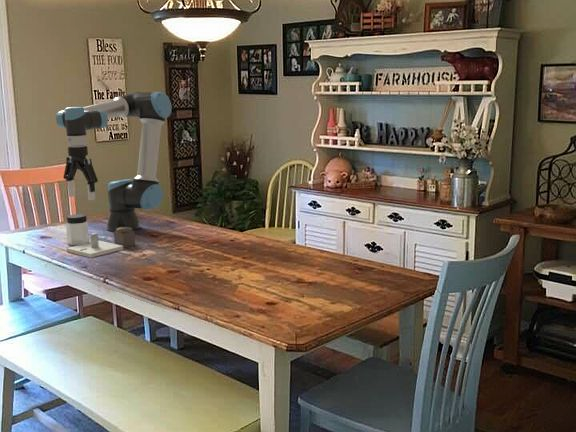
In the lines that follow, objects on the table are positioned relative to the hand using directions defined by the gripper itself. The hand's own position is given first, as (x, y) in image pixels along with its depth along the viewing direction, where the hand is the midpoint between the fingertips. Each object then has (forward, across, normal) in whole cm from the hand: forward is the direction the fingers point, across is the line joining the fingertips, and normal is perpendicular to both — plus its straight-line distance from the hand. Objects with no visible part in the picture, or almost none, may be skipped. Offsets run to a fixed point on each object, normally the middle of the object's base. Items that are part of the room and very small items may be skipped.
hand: (81, 198), depth 266 cm
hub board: (+22, +4, +1) cm, 22 cm away
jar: (+22, -13, +5) cm, 26 cm away
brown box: (+22, +7, +14) cm, 27 cm away
